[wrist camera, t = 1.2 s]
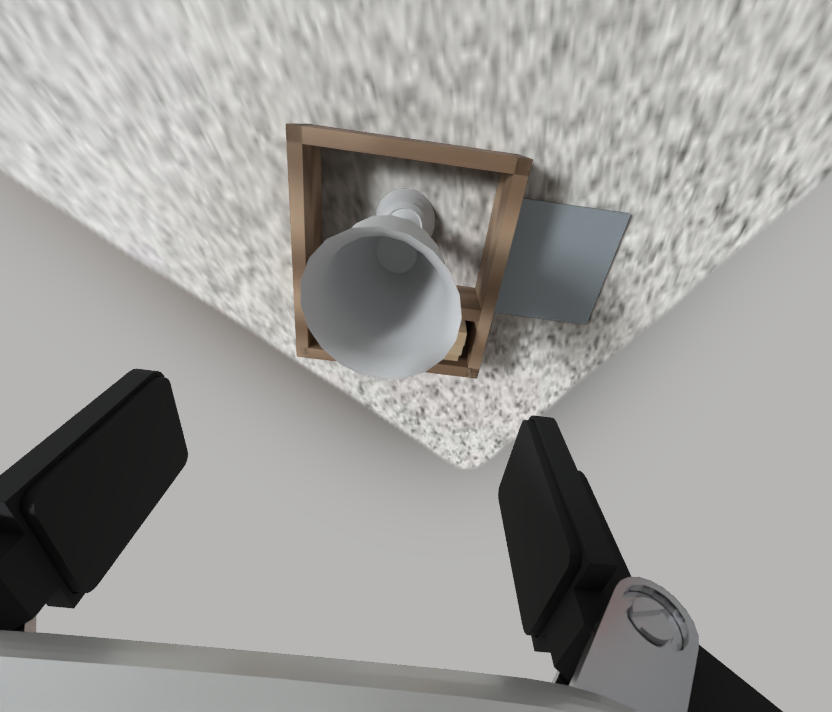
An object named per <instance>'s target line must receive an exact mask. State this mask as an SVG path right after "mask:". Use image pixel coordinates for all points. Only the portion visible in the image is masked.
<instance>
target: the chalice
mask: <svg viewBox="0 0 832 712" xmlns="http://www.w3.org/2000/svg"><path fill="white" fill-rule="evenodd" d="M434 227H435V213H434V210H433V208H432V205H431V203H430V202H429V201H428V200H427V198H426V197H425V196H424V195H422V194H421V193H419V192H417V191H416V190H412V189H408V188H403V189H396V190H394V191H392V192H390V193H388V194H387V195H386V196H385V197H384V198H383V199H382V200H381V201H380V203H379V205H378V207H377V209H376V215H375V216H371V217H369V218H367V219H365V220H362V221H360V222H358V223H356V224H355V225H354V226H353V227H352V228H350V229H348V230H346V231H343V232H341V233H339V234H337V235H334V236H332V237H330V238H328V239H326V240H325V241H324V243H323V244H322V245H321V246H320V247H319V248H318V249H317V250H316V251H315V252H314V253H313V254H312V255H311V256H310V257H309V260H308V262H307V265H306V268H305V270H304V273H303V275H302V278H301V304H300V305H301V308H302V311H303V314H304V317H305V320H306V323H307V326H308V328H309V330H310V331H311V333H312V334H313V336H314V337H315V339H316V340H317V342H318V343H319V345H320V346H321V348H323V349H324V350H325V351H326V352H327V353H328V354H329V355H330V356H332V357H333V358H334V359H335V360H336V361H337V362H338V363H340V364H342V365H344V366H346V367H347V368H349V369H351V370H353V371H355V372H357V373H359V374H362V375H366V376H371V377H375V378H379V379H405V378H408V377H411V376H414V375H418V374H421V373H424V372H426V371H428V370H429V369H430V368H432V367H433V366H434V365H436V364H437V363H439V362H440V361H441V360H443V359H444V358H445V356H446V355H447V353H448V352H449V350H450V349H451V347H452V346H453V344H454V343H455V341H456V339H457V335H458V331H459V327H460V323H461V319H462V316H461V304H460V294H459V292H458V289H457V287H456V285H455V282H454V280H453V278H452V275H451V273H450V271H449V270H448V268H447V267H446V266H445V263H444V260H443V257H442V255H441V253H440V250H439V248H438V245H437V244H436V243H435V242H434V240H433V239H432V238H431V236H432V234H433V231H434Z"/></svg>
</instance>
